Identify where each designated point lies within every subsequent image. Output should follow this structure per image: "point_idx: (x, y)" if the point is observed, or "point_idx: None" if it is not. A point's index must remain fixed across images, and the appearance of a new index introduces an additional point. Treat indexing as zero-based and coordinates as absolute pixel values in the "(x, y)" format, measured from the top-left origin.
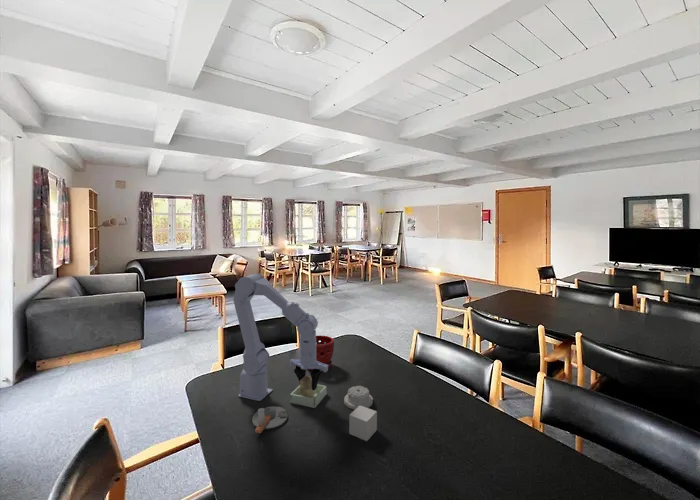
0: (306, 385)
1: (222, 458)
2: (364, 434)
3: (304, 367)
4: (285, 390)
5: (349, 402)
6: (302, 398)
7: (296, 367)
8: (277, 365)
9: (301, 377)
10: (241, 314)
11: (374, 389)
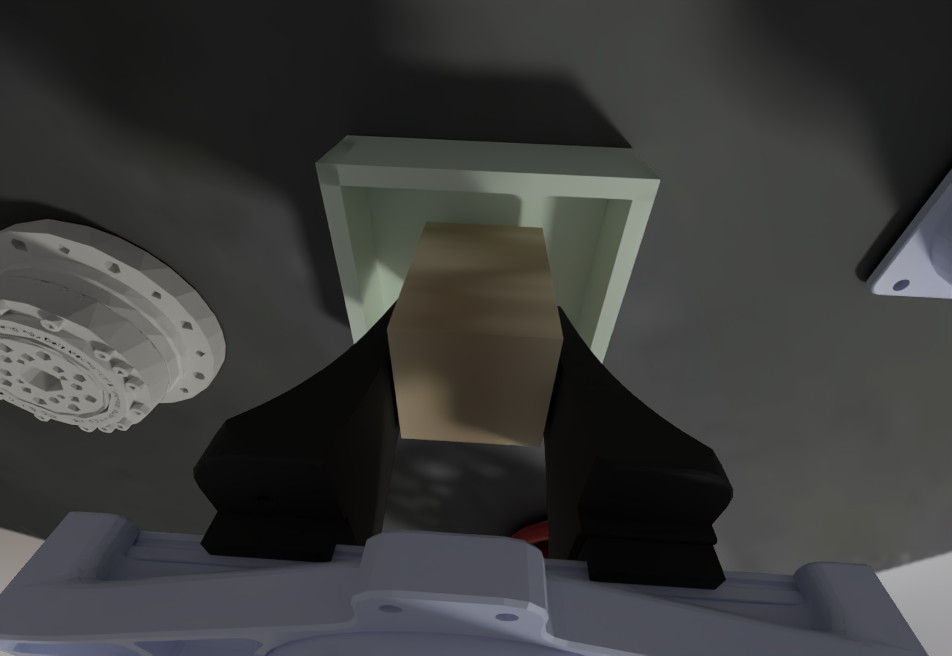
0: (457, 299)
1: None
2: None
3: (395, 604)
4: (729, 315)
5: (105, 273)
6: (482, 163)
7: (699, 548)
8: (837, 524)
9: (563, 396)
10: None
11: (157, 438)
